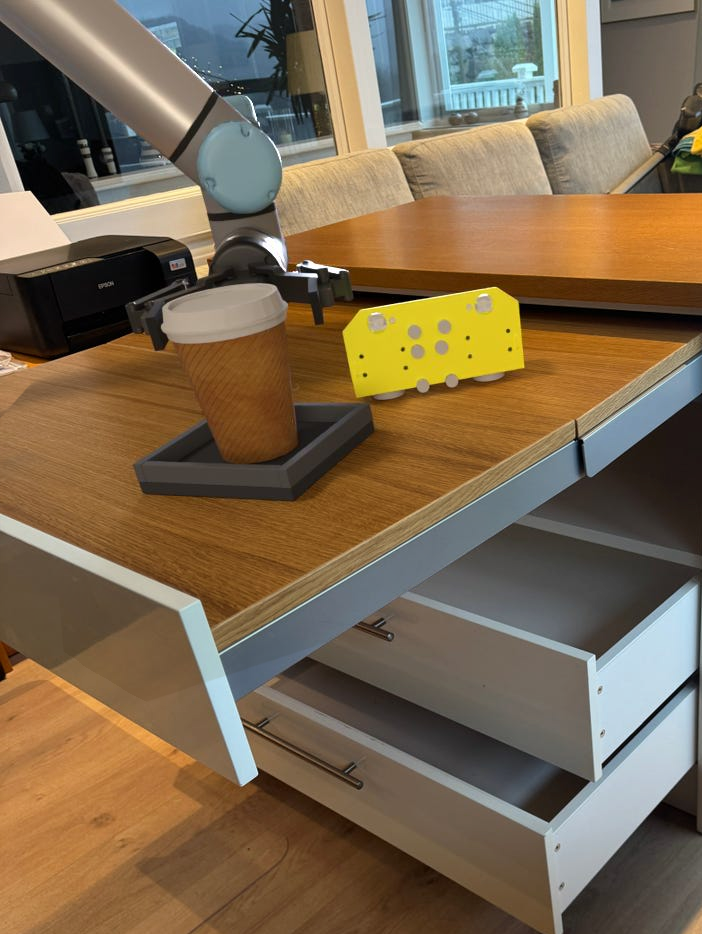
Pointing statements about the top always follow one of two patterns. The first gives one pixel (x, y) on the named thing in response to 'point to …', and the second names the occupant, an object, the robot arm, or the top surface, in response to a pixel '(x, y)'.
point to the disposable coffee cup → (238, 367)
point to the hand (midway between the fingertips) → (235, 321)
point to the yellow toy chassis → (433, 342)
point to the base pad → (283, 478)
